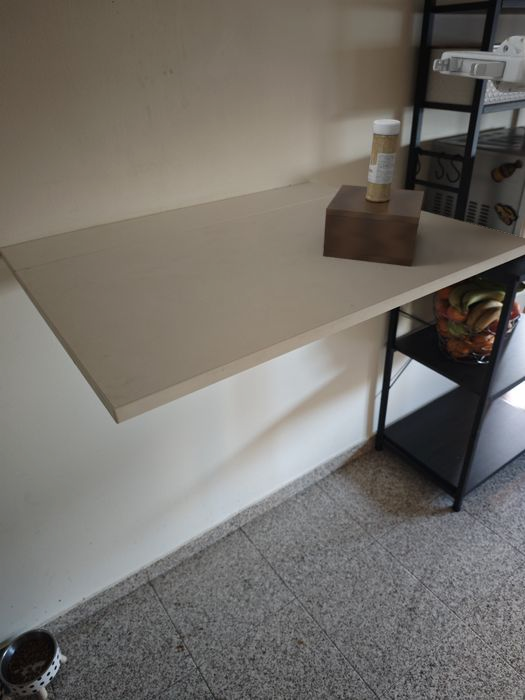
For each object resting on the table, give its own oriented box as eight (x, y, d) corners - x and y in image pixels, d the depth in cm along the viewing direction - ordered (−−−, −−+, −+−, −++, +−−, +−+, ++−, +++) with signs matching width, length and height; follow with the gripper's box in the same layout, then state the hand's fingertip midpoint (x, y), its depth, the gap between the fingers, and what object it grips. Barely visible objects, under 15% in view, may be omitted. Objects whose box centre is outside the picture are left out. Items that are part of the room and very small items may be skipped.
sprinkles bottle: (364, 195, 94) (372, 118, 87) (388, 195, 94) (399, 118, 87) (366, 202, 91) (374, 122, 83) (391, 203, 90) (402, 122, 83)
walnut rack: (416, 235, 102) (424, 191, 97) (410, 266, 89) (419, 217, 84) (339, 227, 106) (342, 184, 101) (322, 255, 93) (326, 208, 88)
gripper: (479, 42, 95) (419, 43, 91) (570, 46, 79) (502, 48, 75) (471, 79, 99) (413, 82, 94) (557, 90, 83) (492, 95, 78)
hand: (453, 67), depth 85 cm, fingers open, 8 cm apart
